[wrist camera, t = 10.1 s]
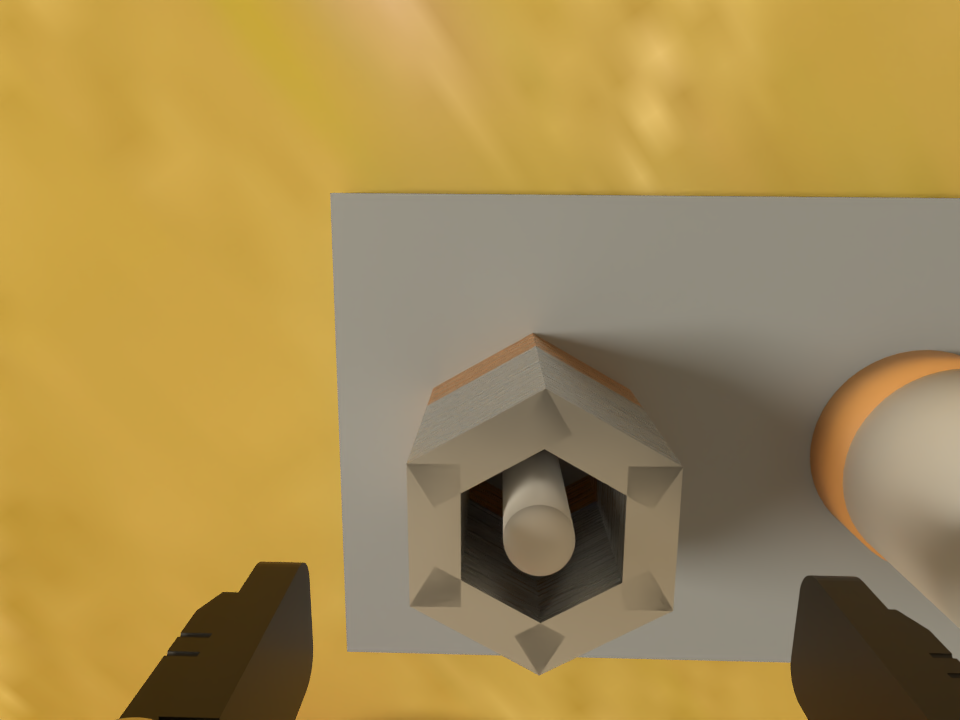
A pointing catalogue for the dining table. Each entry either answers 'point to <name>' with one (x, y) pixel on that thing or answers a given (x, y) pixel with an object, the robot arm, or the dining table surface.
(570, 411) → the sleeve
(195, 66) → the dining table surface
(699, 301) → the pin board
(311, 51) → the dining table surface
